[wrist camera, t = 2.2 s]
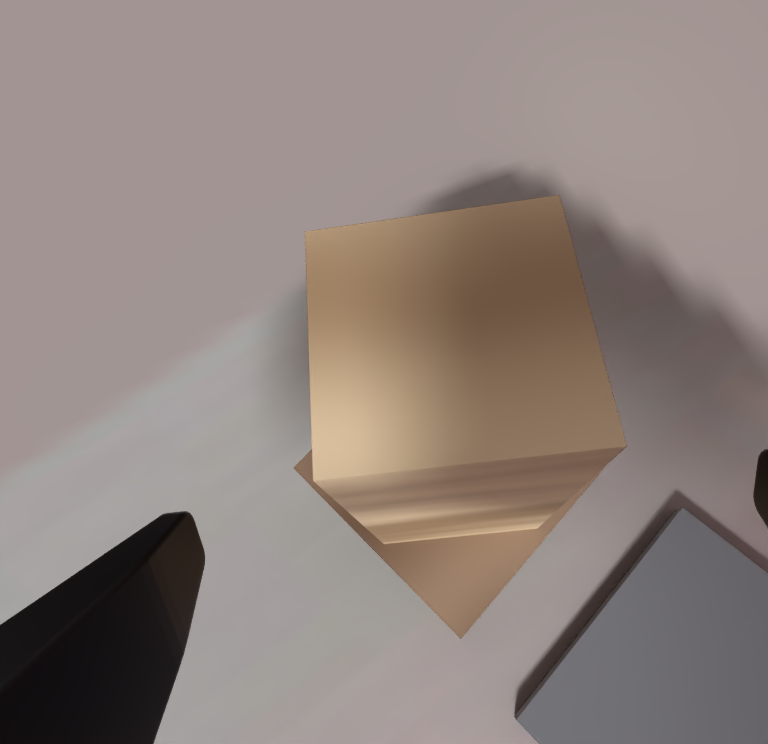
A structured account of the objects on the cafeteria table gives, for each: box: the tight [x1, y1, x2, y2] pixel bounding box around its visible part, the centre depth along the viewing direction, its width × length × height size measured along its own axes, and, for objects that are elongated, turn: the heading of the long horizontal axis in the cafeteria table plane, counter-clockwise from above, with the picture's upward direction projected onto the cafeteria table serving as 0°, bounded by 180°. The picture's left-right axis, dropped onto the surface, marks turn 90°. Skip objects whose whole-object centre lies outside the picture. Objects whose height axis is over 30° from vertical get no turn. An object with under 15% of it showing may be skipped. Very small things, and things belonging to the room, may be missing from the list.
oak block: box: [305, 195, 627, 544], centre depth 13 cm, size 4×4×9 cm
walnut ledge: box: [294, 450, 604, 639], centre depth 18 cm, size 7×7×2 cm
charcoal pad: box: [515, 507, 768, 744], centre depth 15 cm, size 8×8×1 cm
